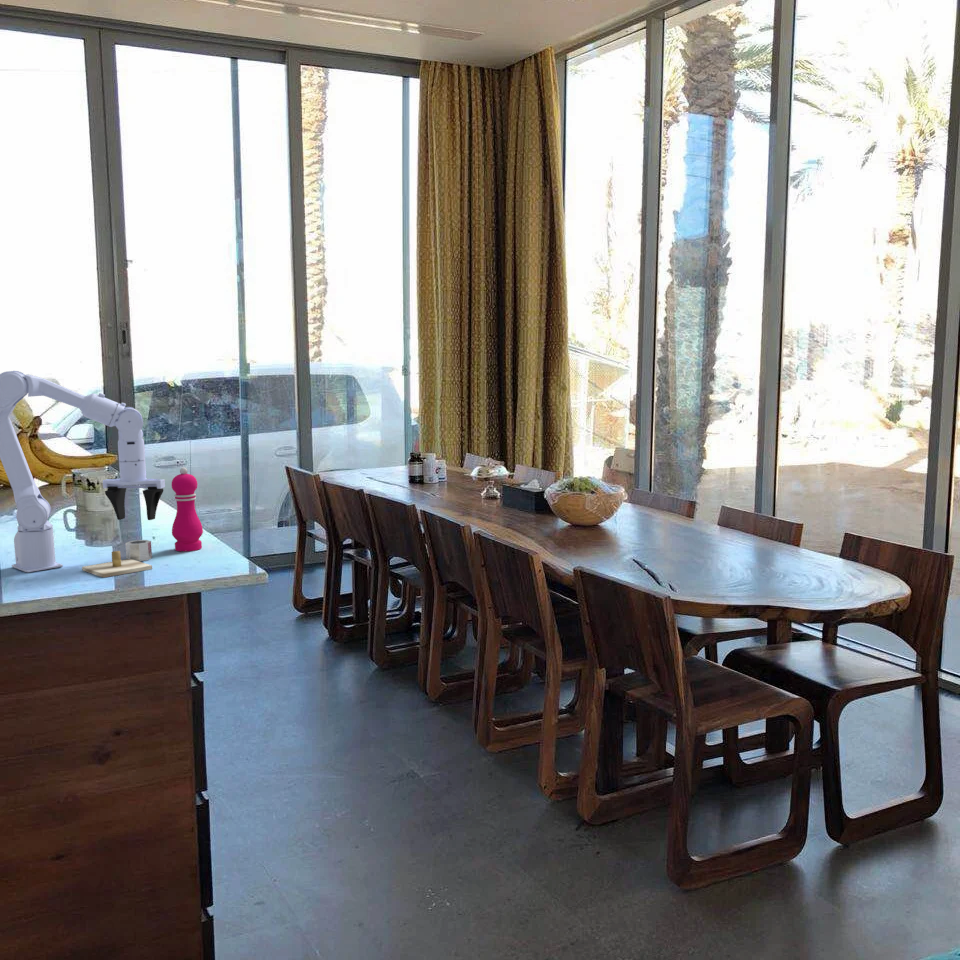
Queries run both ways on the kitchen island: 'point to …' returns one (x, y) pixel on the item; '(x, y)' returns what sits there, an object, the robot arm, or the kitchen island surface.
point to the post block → (116, 566)
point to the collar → (138, 550)
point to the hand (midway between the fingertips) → (136, 519)
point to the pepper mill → (186, 513)
